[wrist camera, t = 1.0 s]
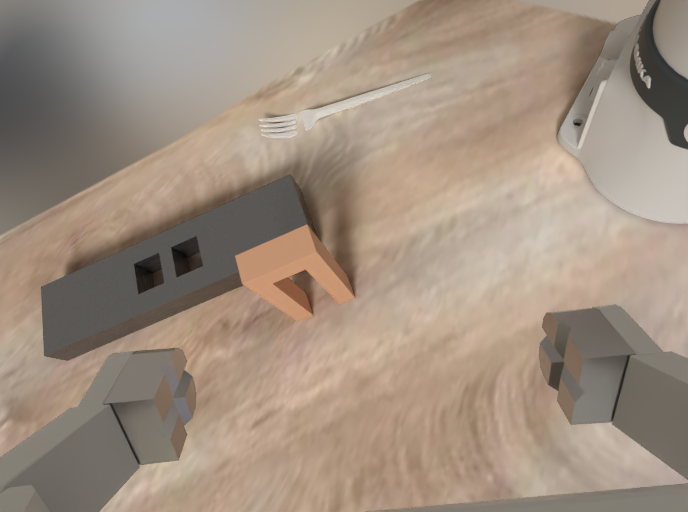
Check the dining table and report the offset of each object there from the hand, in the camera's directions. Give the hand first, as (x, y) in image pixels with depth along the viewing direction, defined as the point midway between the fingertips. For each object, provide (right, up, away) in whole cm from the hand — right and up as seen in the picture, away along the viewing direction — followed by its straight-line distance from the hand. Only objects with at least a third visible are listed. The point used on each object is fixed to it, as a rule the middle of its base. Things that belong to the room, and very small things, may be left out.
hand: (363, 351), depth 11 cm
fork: (0, +19, +43) cm, 47 cm away
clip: (-2, -2, +35) cm, 35 cm away
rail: (-18, 0, +40) cm, 44 cm away
